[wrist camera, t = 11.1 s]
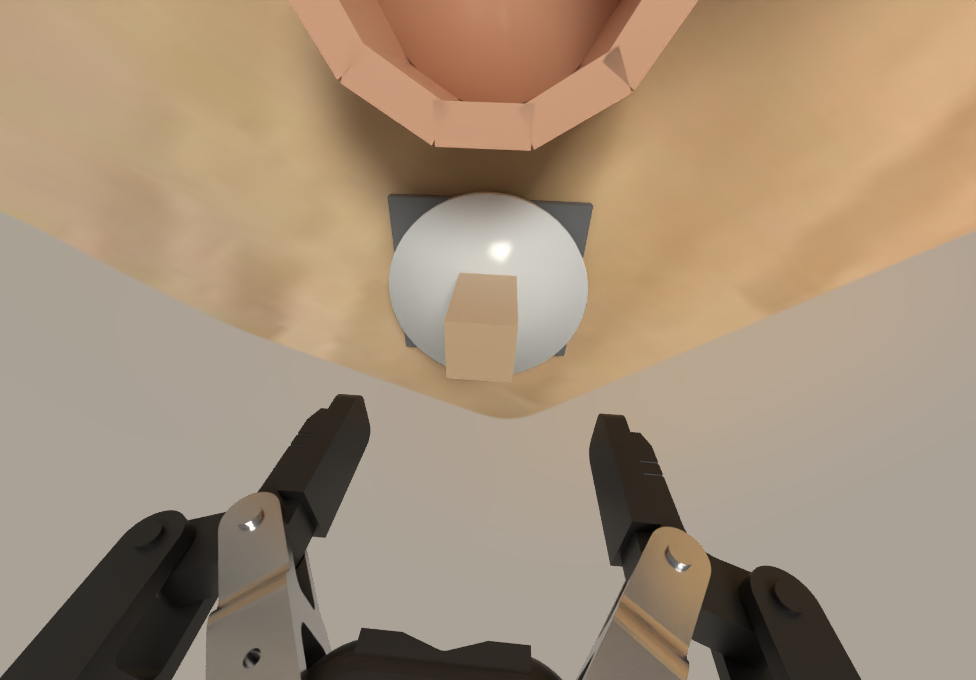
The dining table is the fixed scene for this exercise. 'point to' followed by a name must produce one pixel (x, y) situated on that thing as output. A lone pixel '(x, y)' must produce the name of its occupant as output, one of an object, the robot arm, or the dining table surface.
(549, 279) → the lid
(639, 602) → the robot arm
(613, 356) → the dining table surface
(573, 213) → the mat
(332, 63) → the bowl
